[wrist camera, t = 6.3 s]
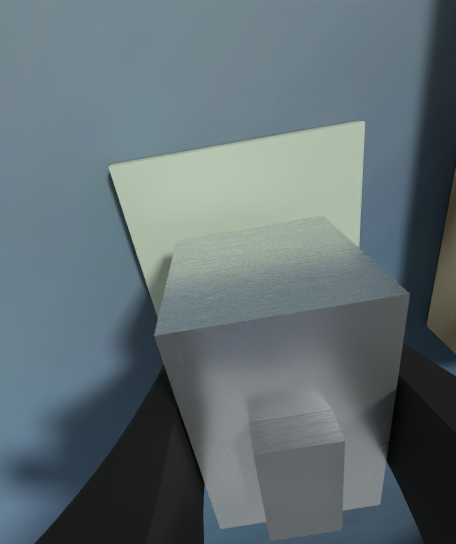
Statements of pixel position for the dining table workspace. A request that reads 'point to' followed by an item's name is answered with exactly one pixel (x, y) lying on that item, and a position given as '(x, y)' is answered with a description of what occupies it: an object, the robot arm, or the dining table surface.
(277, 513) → the pale grey box
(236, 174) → the mat
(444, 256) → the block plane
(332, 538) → the dining table surface
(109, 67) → the dining table surface
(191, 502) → the robot arm
